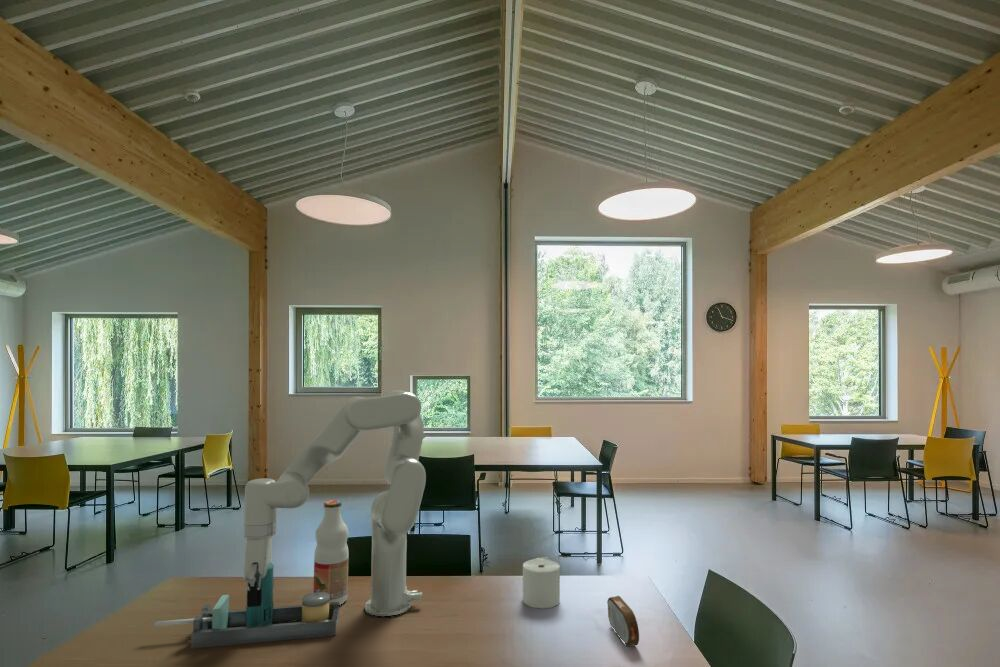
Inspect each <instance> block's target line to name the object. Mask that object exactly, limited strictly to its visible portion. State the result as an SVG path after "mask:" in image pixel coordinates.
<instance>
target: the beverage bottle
mask: <svg viewBox="0 0 1000 667" xmlns="http://www.w3.org/2000/svg"><path fill="white" fill-rule="evenodd" d="M274 568H275V565H274V564H273V563H272V561H271V562H270V564H269V567H268V570H267V574H266V576H265V577H264V578H263V579H262V581H261V588H262V603H261V606H255V607H247V606H245V609H246V622H245V623H246V625H245V626H246V627H247V626H259V625H271V624H273V623H272V619H273V607H274V588H275V587H274V582H275V579H274ZM256 576H260V575H256ZM246 581H247V584H246V587H247V588H246V591H247V590H248V583H249V578H248V579H247V580H246ZM256 581H257V582H258V580H256ZM257 584H258V583H257ZM261 588H260V589H261ZM245 603H247V600H245Z"/></svg>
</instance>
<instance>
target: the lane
mask: <svg viewBox="0 0 1000 667" xmlns="http://www.w3.org/2000/svg"><path fill="white" fill-rule="evenodd" d="M211 610H212V604H211V603H207V604H204V605H203V607H202V608H201V614H200V615H196V616H195V617H194V618H195V619H194V618H193V619H194V620H193V623H192V632H191V633H190V635H191V636H190V649H201V648H202V649H203V648H210V647H211V648H212V647H223V646H236V645H245V644H246V645H247V644H256V643H268V642H279V641H289V640H290V641H291V640H302V639H312V638H325V637H334V636H333V635H337V630H336V629H338V624H339V618H340V606H339V602H333V603H329V617H332V618H330V619H329V620H319V621H307V622H302V604H298V605H297V604H296V605H294V604H293V605H284V606H282V605H281V606H273V619H272V623H271V624H270V625H259V626H247V625H246V623H245V622H246V608H245V609H234V610H233V609H232V610H230V609H229V616H228V627H227V628H223V629H212V622H203V618H207V617H212V616H213V611H211ZM338 617H339V618H338ZM294 620H300V621H294ZM286 621H288V622H286ZM284 622H285V623H284ZM337 623H338V624H337Z"/></svg>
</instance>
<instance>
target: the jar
mask: <svg viewBox="0 0 1000 667" xmlns="http://www.w3.org/2000/svg"><path fill="white" fill-rule="evenodd" d="M329 601H330V595H329V594H328V593H326V592H310V593H306V594H305V595H303V596H302V598H301V605H302V620H301V622H307V621H319V620H330V618H329Z"/></svg>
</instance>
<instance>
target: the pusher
mask: <svg viewBox="0 0 1000 667" xmlns="http://www.w3.org/2000/svg"><path fill="white" fill-rule="evenodd" d="M229 603H230V594H222V595H221V596H220V597H219V599H218V601H217V603H216V604H215V605H214V607H213V609H212V612H213V616H212V617H207V618H203V622H212V628H211V629H223V628H229V626H228V616H229V611H230V609H229V608H230V604H229ZM194 619H195V617H194V618H185V619H172V620H159V621H155V622H154V623H153V626H154V627H161V626H173V625H185V624H187V625H188V624H193V620H194Z"/></svg>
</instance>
